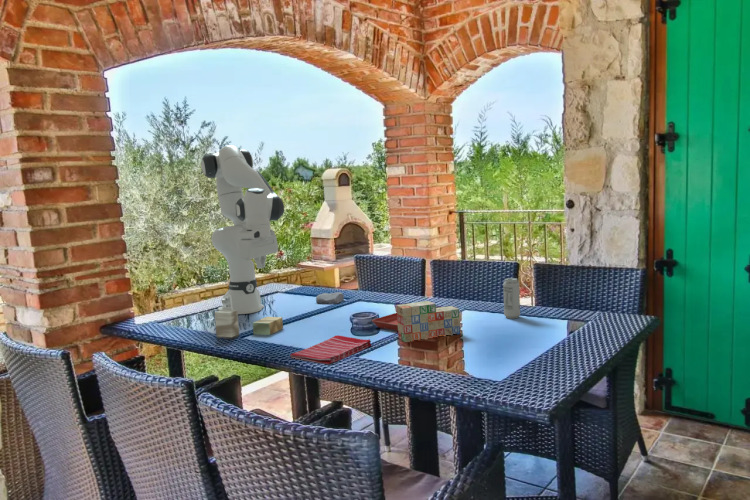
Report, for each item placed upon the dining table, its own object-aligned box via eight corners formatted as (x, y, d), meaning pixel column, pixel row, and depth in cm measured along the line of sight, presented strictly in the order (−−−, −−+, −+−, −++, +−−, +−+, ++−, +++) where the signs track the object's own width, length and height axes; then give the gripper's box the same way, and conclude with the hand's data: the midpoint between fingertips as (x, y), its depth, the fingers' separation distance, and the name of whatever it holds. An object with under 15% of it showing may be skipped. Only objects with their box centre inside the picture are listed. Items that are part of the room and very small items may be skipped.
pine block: (232, 339, 225) (229, 312, 224) (216, 338, 228) (214, 312, 227) (239, 336, 229) (237, 310, 228) (224, 335, 232) (222, 309, 231)
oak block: (268, 323, 228) (282, 317, 237) (252, 322, 231) (267, 316, 240) (269, 335, 228) (283, 328, 238) (253, 334, 231) (267, 327, 240)
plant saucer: (437, 324, 232) (437, 316, 231) (407, 335, 219) (406, 326, 218) (402, 319, 244) (401, 310, 244) (371, 328, 231) (370, 320, 231)
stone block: (338, 307, 279) (345, 299, 288) (336, 298, 278) (343, 289, 287) (314, 308, 283) (322, 299, 292) (312, 299, 281) (320, 290, 291)
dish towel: (373, 346, 207) (373, 339, 206) (330, 366, 188) (329, 358, 187) (334, 341, 217) (334, 333, 216) (289, 359, 197) (288, 351, 197)
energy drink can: (523, 317, 233) (522, 279, 232) (509, 319, 231) (508, 281, 229) (514, 314, 239) (513, 277, 237) (501, 316, 237) (500, 278, 235)
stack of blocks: (452, 330, 220) (451, 297, 219) (460, 334, 215) (459, 300, 213) (397, 338, 214) (396, 304, 212) (404, 342, 208) (402, 307, 206)
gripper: (267, 228, 239) (269, 263, 241) (235, 234, 220) (238, 272, 222) (280, 228, 236) (282, 263, 238) (249, 234, 218) (252, 272, 220)
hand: (261, 267), depth 230 cm, fingers closed
